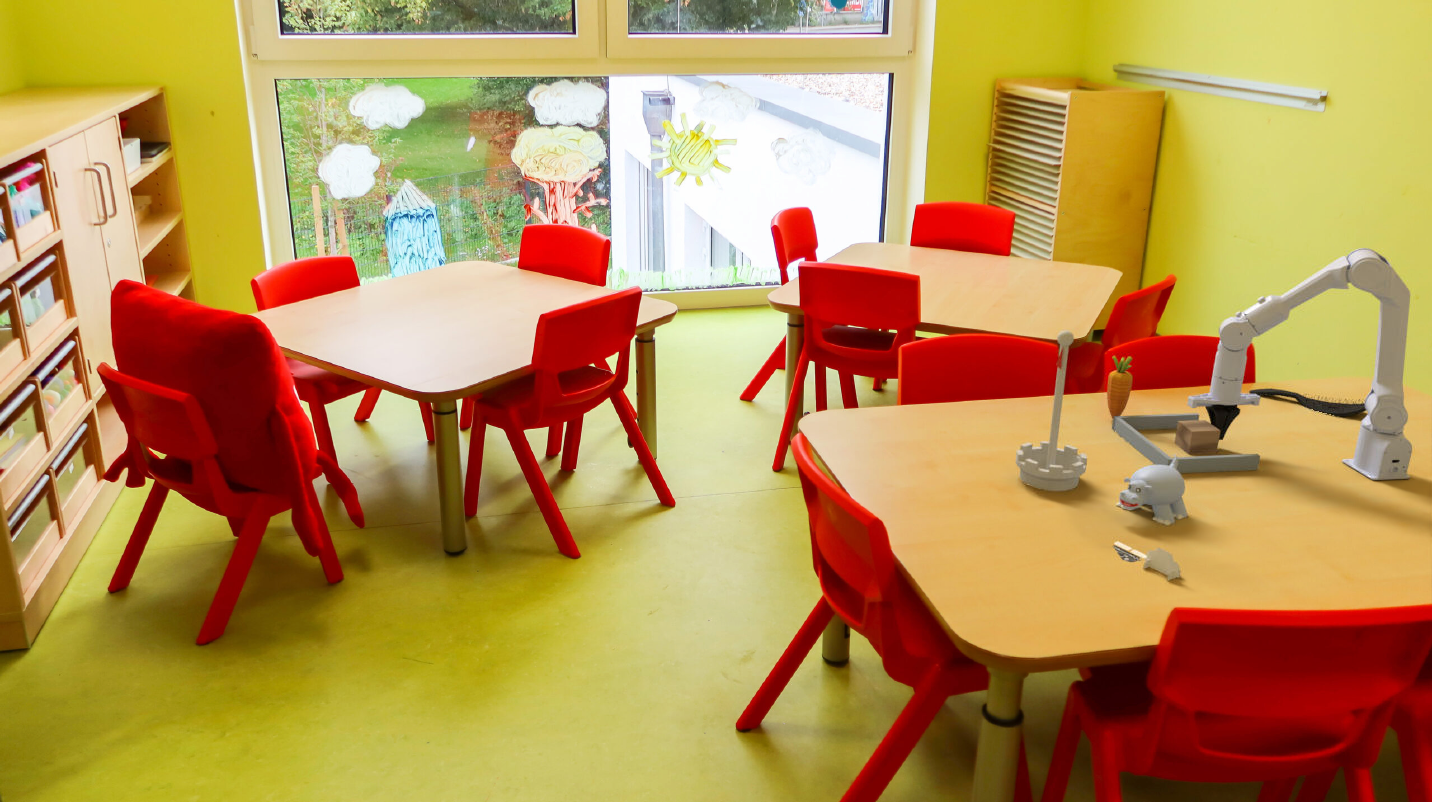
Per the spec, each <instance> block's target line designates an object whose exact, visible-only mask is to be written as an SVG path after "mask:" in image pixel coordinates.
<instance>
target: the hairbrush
mask: <svg viewBox="0 0 1432 802" xmlns="http://www.w3.org/2000/svg"><path fill="white" fill-rule="evenodd" d="M1248 394H1256V395H1258V396H1281V397H1286V398H1291V399H1295V400H1296V401H1297V402H1298V403H1300V404H1301V405H1302V406H1303V407H1304V408H1306V407H1307V409H1308V408H1309V409H1308V410H1310V409H1313V410H1314V411H1313V410H1312V411H1313V412H1316V411H1319V412H1322V413H1321V414H1323V413H1327V414H1331V415H1330V416H1332V415H1334V416H1333V417H1337V416H1339V418H1340V417H1347V416H1355V415H1359V414H1361V413H1363V412H1367V410H1366V409H1365V404H1364V403H1365V399H1363V400H1361V399H1358V400H1357V399H1356V400H1355V401H1354V400H1351V401H1347V398H1345V399H1344V400H1343V398H1341V399H1339V400H1338V399H1332V398H1331V397H1330V398H1329V399H1330V400H1331V399H1332V400H1331V401H1330V400H1327V398H1328V397H1326V396H1325V397H1321V398H1320V395H1318V397H1317V398H1316V399H1315V396H1316V394H1315V395H1314V396H1311V397H1308V396H1309V395H1310V394H1309V393H1305V394H1303V395H1302V394H1300V393H1298V392H1295V391H1289V390H1284V389H1278V388H1255V389H1251V390H1249V393H1248ZM1307 394H1308V396H1307ZM1319 398H1320V400H1319ZM1323 398H1324V399H1323ZM1342 400H1343V401H1342ZM1346 401H1347V402H1346ZM1363 401H1364V402H1363ZM1357 402H1361V403H1357ZM1319 412H1318V413H1319ZM1327 414H1326V415H1327Z"/></svg>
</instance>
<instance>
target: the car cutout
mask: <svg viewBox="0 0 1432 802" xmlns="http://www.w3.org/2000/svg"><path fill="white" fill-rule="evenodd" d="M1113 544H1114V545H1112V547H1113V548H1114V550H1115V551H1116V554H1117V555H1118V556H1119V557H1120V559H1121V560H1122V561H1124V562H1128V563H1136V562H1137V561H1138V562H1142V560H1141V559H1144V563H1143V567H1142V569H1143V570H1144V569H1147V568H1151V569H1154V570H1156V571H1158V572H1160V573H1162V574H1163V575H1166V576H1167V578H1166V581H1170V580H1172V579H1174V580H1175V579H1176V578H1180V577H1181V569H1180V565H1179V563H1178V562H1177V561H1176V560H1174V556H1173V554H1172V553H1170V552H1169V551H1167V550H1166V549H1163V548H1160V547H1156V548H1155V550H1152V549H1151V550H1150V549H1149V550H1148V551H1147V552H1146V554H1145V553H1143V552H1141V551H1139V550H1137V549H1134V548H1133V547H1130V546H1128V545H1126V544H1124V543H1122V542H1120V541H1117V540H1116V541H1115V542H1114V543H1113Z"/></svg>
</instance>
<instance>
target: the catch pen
mask: <svg viewBox="0 0 1432 802" xmlns="http://www.w3.org/2000/svg"><path fill="white" fill-rule="evenodd" d="M1199 419H1200V414H1199V413H1197V412H1187V413H1164V414H1161V413H1160V414H1138V415H1137V414H1135V415H1120V416H1114V417H1113V419H1112V425H1111V430H1112V429H1113V430H1114V431H1113V430H1112V431H1113V432H1115V431H1116V432H1117V433H1118V434H1119V435H1118V434H1117V433H1116V432H1115V433H1116V434H1117V435H1118V436H1120V438H1122V437H1123V438H1124V439H1125V440H1124V439H1123V438H1122V439H1123V440H1124V441H1126V442H1127V443H1128V442H1129V443H1130V444H1129V443H1128V444H1129V445H1131V446H1132V447H1133V448H1134V447H1135V448H1136V451H1138V452H1139V451H1140V452H1141V453H1140V452H1139V453H1140V454H1142V455H1143V456H1144V457H1145V458H1147V459H1148V460H1149V461H1150V462H1152V463H1153V465H1166V466H1170V465H1171V463H1172V461H1173V460H1174V458H1175V456H1174V457H1171V456H1170V455H1168V454H1167V453H1166V452H1165V451H1163V450H1162V449H1161V448H1160V447H1158V446H1157V445H1156V444H1154V443H1153V442H1152V441H1150V440H1149V439H1148V438H1147V437H1146V436H1144V435H1143V434H1142V433H1140V431H1143V430H1145V429H1149V430H1169V429H1172V430H1173V429H1177V424H1178V421H1193V420H1199ZM1138 429H1139V430H1138ZM1145 431H1146V430H1145ZM1135 448H1134V449H1135ZM1177 457H1178V466H1177V468H1176V470H1177V471H1178V472H1179V473H1180V474H1189V473H1190V474H1191V473H1192V474H1193V473H1195V474H1196V473H1213V472H1214V473H1217V472H1237V471H1238V472H1239V471H1241V472H1242V471H1257V470H1259V469H1258V468H1259V465H1260V460H1261V455H1260V454H1258V453H1252V454H1251V453H1246V454H1242V453H1241V454H1227V455H1223V454H1221V455H1201V456H1200V455H1199V456H1198V455H1197V456H1196V455H1195V456H1177Z"/></svg>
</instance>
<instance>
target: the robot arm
mask: <svg viewBox="0 0 1432 802" xmlns="http://www.w3.org/2000/svg"><path fill="white" fill-rule="evenodd" d="M1349 284H1351V285H1352V286H1353V287H1354V288H1355V289H1358V290H1360V291H1363V292H1366V293H1368V294H1371V295H1372V296H1374V298H1376V299H1377V300H1378V301H1379V312H1378V325H1377V337H1376V347H1375V349H1376V350H1375V358H1374V359H1375V360H1374V361H1375V363H1374V375H1373V379H1372V382H1371V387H1370V391H1369V392H1368V394H1367V395H1366V397H1365V399H1364V400H1365V401H1364V402H1363V403H1364V404H1365V409H1366V412H1367V415H1366V416H1365V417H1364V418H1363V419H1362V420H1361V422H1360V427H1359V432H1358V437H1357V441H1356V445H1355V449H1354V454H1353V458H1343V459H1342V461H1341V462H1342V463H1344V464H1346V465H1347V466H1349V467H1351V468H1352V469H1353V470H1355V471H1357V472H1358V473H1360V474H1362V475H1363V476H1365V477H1367V478H1368V479H1369V480H1372V481H1380V480H1381V481H1383V480H1384V481H1385V480H1403V479H1406V480H1407V479H1410V478H1411V475H1409V474H1407V473H1408V469H1409V465H1410V463H1411V457H1412V452H1413V445H1412V443H1411V442H1410V441H1409V439H1408V438H1406V436H1405V434H1404V429H1405V425H1406V424H1407V423H1408V421H1409V420H1408V419H1409V414H1408V410H1407V408H1406V407H1405V403H1404V402H1405V401H1404V400H1405V399H1404V398H1405V396H1404V395H1405V394H1404V393H1405V392H1404V385H1403V382H1404V372H1405V371H1404V370H1405V369H1404V368H1405V358H1406V350H1407V349H1406V348H1407V347H1406V346H1407V337H1408V326H1409V316H1410V315H1409V314H1410V303H1411V290H1410V289H1409V288H1408V286H1407V284H1406V283H1405V282H1404V280H1403V279H1402V278H1401V276H1400V275H1399V274H1398V272H1397V271H1396V270H1395V269H1394V268H1393V266H1392V264H1391V263H1390V262H1389V261H1388V259H1387V258H1386V257H1385V256H1383V255H1382V254H1380V253H1378V252H1377V251H1375V250H1374V249H1371V248H1369V247H1368V248H1367V247H1362V248H1360V247H1359V248H1357V249H1354V250H1352V251H1350V252H1349V253H1348V254H1347V255H1346V256H1345V255H1343V256H1341V257H1338V258H1337V259H1335V260H1333V261H1332V262H1330V263H1329V264H1328V265H1326V266H1324V267H1323V268H1321V269H1320V270H1318V271H1317V272H1315V273H1313V274H1312V275H1311V276H1309V277H1308V278H1306V279H1305V280H1303V281H1302V282H1300V283H1299V284H1297V285H1296V286H1294V287H1293V288H1291V289H1290V290H1288V291H1286V292H1285V293H1283V294H1282V295H1276V294H1275V295H1274V294H1269V296H1266V297H1265V296H1264V295H1261V296H1260V297H1258V298H1257V302H1256V303H1255V304H1254V305H1252V306H1250V307H1248V308H1246V309H1245V310H1243V311H1242V312H1241V311H1240V310H1239V311H1238V312H1235V316H1230V317H1228V318H1225V319H1224V320H1223V321H1222V322H1221V324H1220V326H1219V327H1218V334H1219V343H1218V345H1217V351H1216V354H1215V359H1214V363H1213V371H1212V377H1211V382H1210V389H1209V392H1207V393H1202V394H1197V395H1189V396H1188V398H1187V406H1188V407H1190V408H1191V409H1197V408H1198V407H1199V408H1200V407H1201V408H1202V407H1205V409H1206V412H1207V414H1208V418H1209V421H1210V422H1209V423H1210V424H1212V425H1213V426H1215V427H1216V428H1218V429H1219V430H1220V437H1219V441H1223V440H1224V438H1225V436H1226V433H1227V431H1228V429H1229V428H1230V426H1231V424H1232V423H1233V422H1234V421H1235V419H1236V418H1237V417H1238V416H1239V415H1240V413H1241V408H1239V407H1238V406H1247V405H1248V406H1255V407H1256V406H1257V407H1258V406H1259V405H1260V401H1261V395H1256V394H1251V393H1244V392H1243V393H1242V387H1243V381H1244V376H1245V371H1246V364H1247V360H1248V356H1247V351H1248V348H1249V347H1250V345H1251V344H1252V342H1253V338H1258V337H1260V336H1261V335H1264V333H1267V332H1269V331H1270V330H1272V329H1273V328H1275V327H1277V326H1278V325H1280V324H1282V323H1283V322H1286V320H1288V319H1289V317H1290V312H1291V310H1294V309H1295V308H1297V307H1299V306H1301V305H1302V304H1304V303H1306V302H1308V301H1310V300H1312V299H1313V298H1315V297H1318V296H1319V295H1321V294H1323V293H1325V292H1326V291H1328V290H1331V289H1337V290H1349V289H1350V287H1349Z"/></svg>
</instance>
